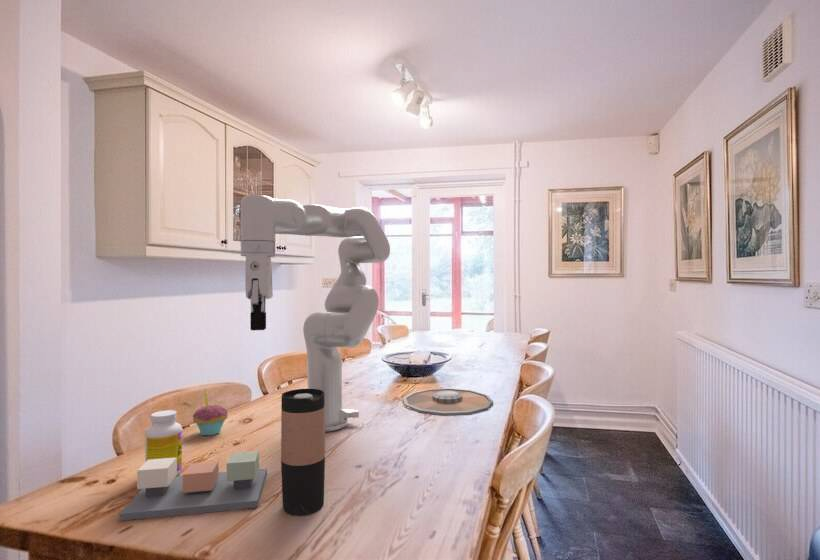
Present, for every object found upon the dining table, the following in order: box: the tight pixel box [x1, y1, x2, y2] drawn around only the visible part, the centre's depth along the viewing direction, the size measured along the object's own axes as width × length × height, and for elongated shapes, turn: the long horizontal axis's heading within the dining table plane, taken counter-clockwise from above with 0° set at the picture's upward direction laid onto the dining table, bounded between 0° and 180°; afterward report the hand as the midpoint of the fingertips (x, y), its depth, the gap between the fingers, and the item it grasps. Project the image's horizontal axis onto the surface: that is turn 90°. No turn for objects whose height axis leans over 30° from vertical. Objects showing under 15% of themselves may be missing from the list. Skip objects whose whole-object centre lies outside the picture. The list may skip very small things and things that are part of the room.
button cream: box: [136, 457, 178, 490], centre depth 82 cm, size 5×5×3 cm
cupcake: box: [192, 389, 229, 436], centre depth 118 cm, size 9×8×12 cm
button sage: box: [226, 451, 260, 481], centre depth 85 cm, size 5×5×3 cm
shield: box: [402, 388, 494, 416], centre depth 147 cm, size 30×3×30 cm
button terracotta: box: [182, 460, 220, 493], centre depth 83 cm, size 5×5×3 cm
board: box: [119, 467, 268, 522], centre depth 83 cm, size 22×14×3 cm, turn 101°
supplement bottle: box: [144, 409, 183, 476], centre depth 92 cm, size 7×7×13 cm
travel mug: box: [280, 388, 326, 517], centre depth 79 cm, size 8×8×20 cm
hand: (258, 329), depth 102 cm, fingers closed
